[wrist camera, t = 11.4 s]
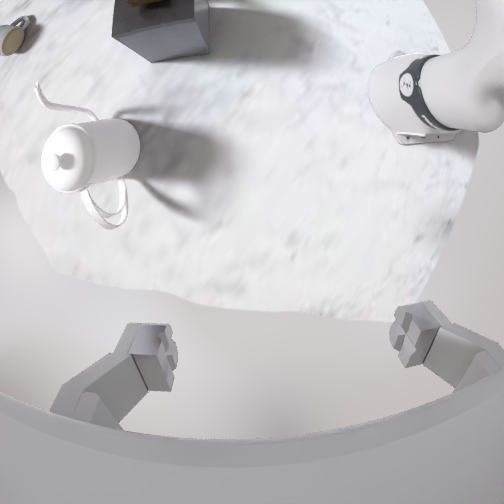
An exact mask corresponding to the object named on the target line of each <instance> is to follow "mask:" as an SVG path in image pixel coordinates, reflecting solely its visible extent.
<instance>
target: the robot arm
mask: <svg viewBox="0 0 504 504" xmlns="http://www.w3.org/2000/svg"><path fill="white" fill-rule="evenodd" d="M475 4H476V25H475V29H474V32H473V35H472V37H471V39H470V41H469V42H468V43H467V45H466V46H464V47H463V48H461V49H459V50H457V51H454V52H451V53H448V54H445V55H426V56H424V55H422V54H421V53H411V54H405V53H403V52H401V51H395V52H393V53H392V55H391V56H390V58H389V59H388V60H387V61H385V62H383V63H381V64H379V65H378V66H377V67H376V68H375V69H374V70H373V72H372V73H371V76H370V79H369V84H368V93H369V99H370V102H371V105H372V107H373V109H374V111H375V113H376V115H377V116H378V117H379V119H380V120H381V121H382V122H383V123H384V124H385V125H386V126H387V127H388V128H389V129H390V130H391V131H392V133H393V135H394V137H395V139H396V140H397V142H398V143H399V144H402V145H404V144H415V143H426V142H440V141H452V140H454V138H455V136H456V134H457V133H461V132H462V131H463V130H470V131H477V132H484V133H485V132H491V131H494V130H496V129H497V128H498V127H500V125H501V124H502V123H503V121H504V0H475ZM407 136H408V140H407ZM394 316H395V318H396V320H395V321H394V322H393V324H392V325H391V328H390V341H391V344H392V346H393V348H394V349H396V350H398V351H399V355H398V356H399V358H400V360H401V361H402V363H403V365H404V366H405V368H408V367H411V366H416V365H420V364H423V365H424V366H425V367H427V368H428V369H430V370H431V371H432V372H434V373H435V374H436V375H438V376H439V377H441V378H442V379H443V380H445V381H446V382H447V383H449V384H450V385H451V386H453V387H454V388H455V390H454V391H453V393H452V394H450V395H448V396H445V397H443V398H440V399H437V400H435V401H433V402H430V403H427V404H425V405H422V406H419V407H416V408H413V409H410V410H407V411H404V412H401V413H398V414H394V415H391V416H388V417H384V418H381V419H377V420H373V421H369V422H366V423H361V424H357V425H353V426H348V427H343V428H338V429H333V430H327V431H322V432H315V433H308V434H300V435H293V436H283V437H271V438H256V439H194V438H179V437H167V436H158V435H150V434H142V433H135V432H130V431H124V430H123V428H122V427H121V426H120V425H119V422H120V421H121V420H122V419H123V418H124V417H125V416H126V415H127V414H128V413H129V412H130V411H131V410H132V408H133V407H134V406H135V405H136V404H137V403H138V402H139V401H140V400H141V399H142V398H143V397H144V396H145V395H146V394H147V393H148V391H169V392H171V390H172V385H173V381H174V375H173V372H172V371H173V370H174V369H175V368H176V367H177V362H178V352H177V346H176V342H174V341H173V340H172V339H171V338H172V334H173V332H172V329H171V326H170V325H169V324H155V323H129V324H127V326H126V328H125V330H124V332H123V334H122V336H121V338H120V340H119V342H118V344H117V346H116V348H115V350H114V353H109V354H107V355H106V356H104V357H103V358H101V359H100V360H98V361H97V362H95V363H94V364H93V365H91V366H90V367H88V368H87V369H85V370H84V371H82V372H81V373H79V374H78V375H77V376H75V377H74V378H72V379H71V380H69V381H68V382H66V383H65V384H63V385H62V387H61V389H60V391H59V393H58V394H57V397H56V399H55V401H54V403H53V405H52V407H51V409H50V411H47V410H43V409H41V408H38V407H35V406H32V405H30V404H27V403H25V402H22V401H20V400H18V399H15V398H13V397H11V396H8V395H6V394H4V393H2V392H0V504H504V350H503V349H502V347H501V346H500V345H499V344H498V343H497V342H494V341H492V340H490V339H488V338H486V337H484V336H482V335H479V334H477V333H475V332H473V331H471V330H469V329H467V328H464V327H462V326H460V325H457V324H455V323H453V324H452V323H451V322H450V321H449V320H448V318H447V317H446V316H445V315H444V314H443V313H442V312H441V310H439V308H438V307H437V306H436V305H435V304H434V303H433V302H432V301H424V302H419V303H415V304H410V305H404V306H398V308H397V309H396V311H395V314H394Z"/></svg>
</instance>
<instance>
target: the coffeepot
mask: <svg viewBox="0 0 504 504" xmlns="http://www.w3.org/2000/svg"><path fill="white" fill-rule="evenodd" d="M34 89H35V92H36V95H37V97H38V99H39V101H40V102H41V104H42V105H43V106H45V107H46V108H49V109H53V110H61V111H69V112H76V113H83V114H87V115H89V116H90V117H91V118H92V120H93V121H92V122H86V123H80V124H74V123H72V124H65V125H62V126H61V127H59V128H57V129H56V130H55V131H54V132H53V133H52V134H51V136H50V137H49V139H48V141H47V142H46V144H45V147H44V149H43V153H42V170H43V173H44V176H45V178H46V180H47V181H48V182H49V184H50V185H51V186H53V187H54V188H55V189H56V190H58V191H59V192H62V193H66V194H71V193H75V192H78V191H80V192H81V196H82V199H83V201H84V203H85V206H86V207H87V209H88V211H89V213H90V214H91V216H92V217H93V218H94V220H95V221H96V222H97V223H98V224H99V225H101V226H102V227H104V228H106V229H115V228H117V227H119V226H121V225H122V224H123V223H124V222H125V220H126V217H127V213H128V195H127V189H126V185H125V181H124V176H126V174H127V173H128V172H130V171H131V170H132V168H133V167H134V166H135V164H136V162H137V160H138V157H139V154H140V139H139V136H138V133H137V131H136V130H135V128H134V127H133V126H132V125H131V124H130V123H129V122H127V121H125V120H122V119H118V118H112V119H105V120H98V118H97V116H96V115H95V114H94V113H93V112H92V111H90V110H88V109H85V108H80V107H74V106H67V105H61V104H54V103H51V102H49V101H48V100H47V99H46V98H45V97H44V95H43V93H42V91H41V88H40V85H39V82H38V81H37V82H36V83H35V85H34ZM117 178H118V183H119V184H118V185H119V189H120V202H119V207H118V209H117V211H116V212H115V213H114V214H110V213H107V212H105V211H103V210H102V209H101V208H99V207H98V206H97V205H96V203H95V202H94V201H93V200H92V198H91V196H90V194H89V191H88V190H87V188H88V187H89V186H92V185H95V184H99V183H102V182H106V181H110V180H113V179H117ZM121 211H122V214H121V218H120V221H119V223H118V225H113V224H110V223H109V222H107V221H106V220H105V219H104V218H110V217H112V216H114V215H116V214H118V213H119V212H121Z"/></svg>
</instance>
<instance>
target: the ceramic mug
mask: <svg viewBox="0 0 504 504" xmlns="http://www.w3.org/2000/svg"><path fill="white" fill-rule="evenodd" d="M23 20H26V22H25V24H24V25H23V26H22V27H21V28H20V27H18V26H16V25H17V24H18V23H19V22H21V21H23ZM29 23H30V19H29V17H28V16H22V17H20V18H18V19H17V20H16V21H14V22H13V23H12V24H11V25H2V26H0V55H1V56H8V55H11V54H13V53H15V52H16V51H17V50H18V49H19V47H20V46H21V44H22V42H23V39H24V30H25V29H26V27H27V26H28V25H29Z"/></svg>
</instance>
